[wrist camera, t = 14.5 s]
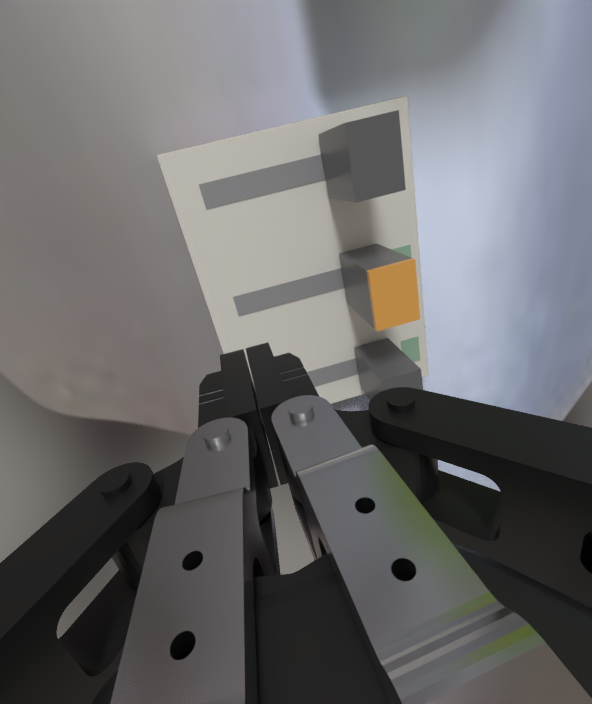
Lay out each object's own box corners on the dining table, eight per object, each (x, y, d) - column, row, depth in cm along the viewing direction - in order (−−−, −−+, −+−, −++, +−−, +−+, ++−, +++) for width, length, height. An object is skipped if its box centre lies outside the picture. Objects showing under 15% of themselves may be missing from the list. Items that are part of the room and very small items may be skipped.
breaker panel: (247, 415, 36) (248, 428, 34) (160, 156, 27) (156, 155, 25) (418, 365, 37) (429, 375, 35) (395, 101, 28) (407, 95, 26)
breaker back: (360, 387, 34) (387, 425, 29) (354, 347, 33) (381, 380, 27) (392, 377, 35) (424, 414, 29) (387, 337, 33) (421, 369, 27)
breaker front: (328, 197, 27) (355, 202, 22) (318, 134, 26) (344, 122, 20) (369, 187, 28) (405, 190, 22) (361, 123, 26) (398, 109, 20)
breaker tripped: (347, 302, 31) (376, 331, 25) (339, 253, 29) (368, 271, 23) (382, 293, 31) (420, 319, 25) (376, 243, 29) (415, 259, 24)
